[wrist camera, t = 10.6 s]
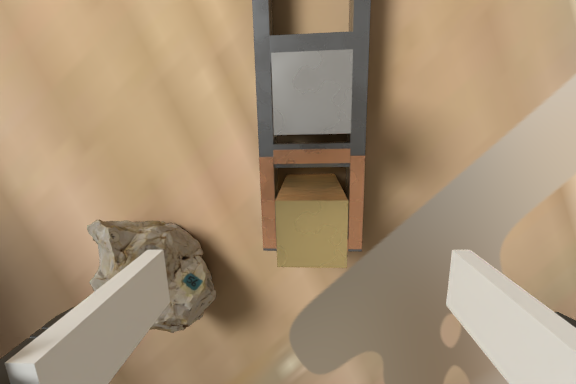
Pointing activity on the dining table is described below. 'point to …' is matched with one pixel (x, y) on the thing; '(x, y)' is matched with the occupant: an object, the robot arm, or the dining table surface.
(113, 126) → the dining table surface
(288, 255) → the tan rectangular block
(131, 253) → the rock
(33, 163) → the dining table surface
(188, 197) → the dining table surface
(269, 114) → the grey block rack
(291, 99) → the grey square-ended block
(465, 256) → the robot arm
